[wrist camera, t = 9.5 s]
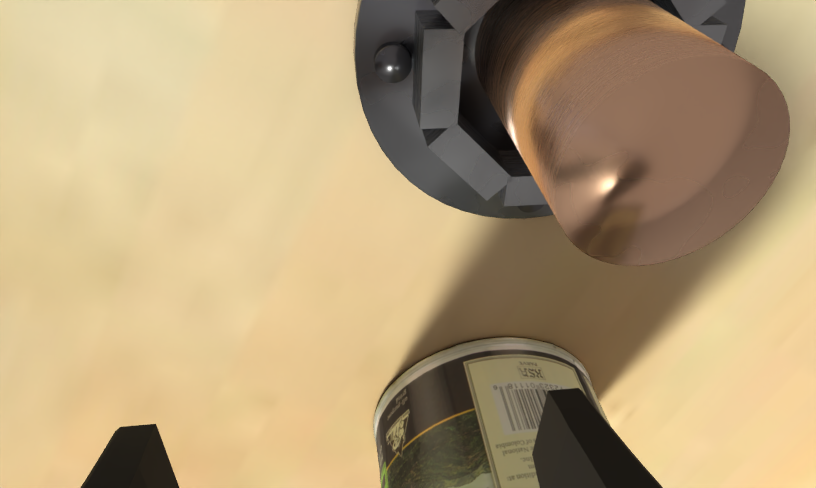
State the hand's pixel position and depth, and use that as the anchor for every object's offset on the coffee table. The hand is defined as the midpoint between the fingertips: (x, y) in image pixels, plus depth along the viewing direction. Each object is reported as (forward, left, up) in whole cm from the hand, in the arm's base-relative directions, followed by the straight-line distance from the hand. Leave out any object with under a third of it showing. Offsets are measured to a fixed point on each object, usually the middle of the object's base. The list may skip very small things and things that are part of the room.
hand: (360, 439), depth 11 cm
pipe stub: (+6, +4, -9) cm, 12 cm away
